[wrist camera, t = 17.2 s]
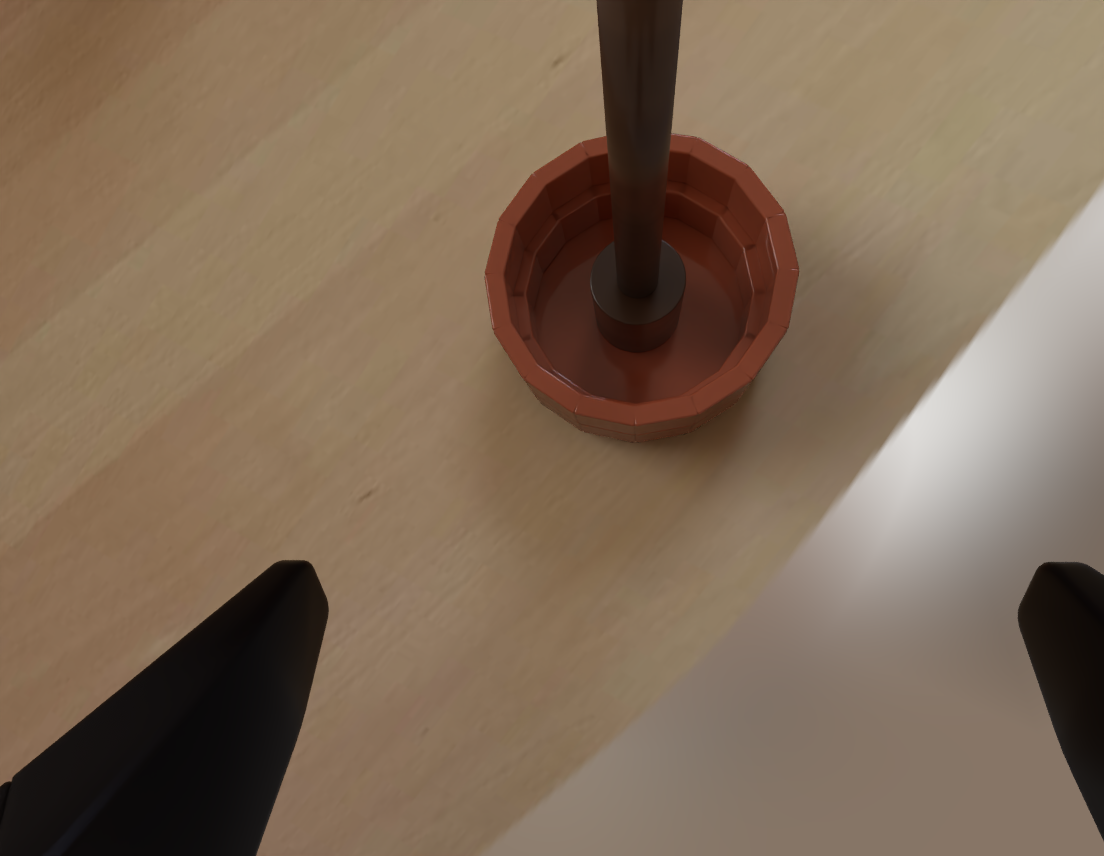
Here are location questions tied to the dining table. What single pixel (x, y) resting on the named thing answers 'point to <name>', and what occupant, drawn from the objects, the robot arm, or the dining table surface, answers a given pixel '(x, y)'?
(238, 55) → the dining table surface
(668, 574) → the dining table surface
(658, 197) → the brown pestle
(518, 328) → the bowl
